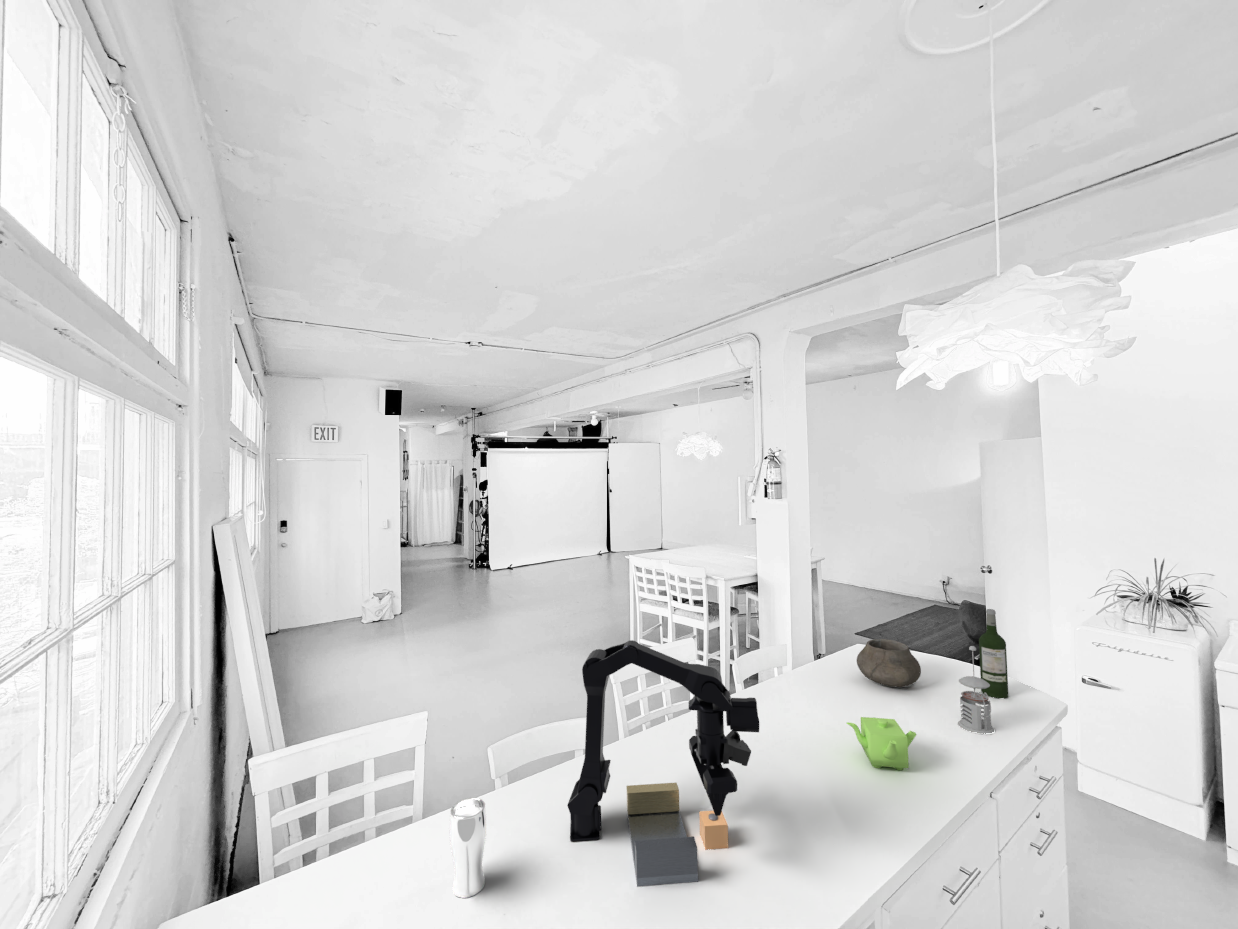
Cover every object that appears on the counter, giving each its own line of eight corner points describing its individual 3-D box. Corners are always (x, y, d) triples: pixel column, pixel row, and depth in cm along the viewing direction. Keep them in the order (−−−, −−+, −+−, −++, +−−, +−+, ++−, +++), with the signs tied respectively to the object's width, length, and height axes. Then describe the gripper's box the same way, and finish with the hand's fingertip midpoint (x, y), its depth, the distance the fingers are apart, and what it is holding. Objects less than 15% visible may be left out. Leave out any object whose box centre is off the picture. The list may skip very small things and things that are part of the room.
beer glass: (490, 871, 105) (489, 796, 105) (482, 899, 98) (481, 818, 98) (455, 873, 105) (455, 797, 105) (445, 901, 98) (444, 819, 98)
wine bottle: (986, 697, 182) (982, 611, 183) (977, 689, 190) (974, 606, 191) (1012, 700, 180) (1008, 613, 181) (1003, 691, 188) (999, 607, 189)
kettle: (896, 783, 132) (894, 738, 133) (845, 760, 144) (843, 719, 144) (924, 764, 141) (922, 722, 141) (873, 743, 152) (871, 705, 153)
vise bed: (637, 886, 100) (636, 851, 100) (627, 814, 122) (626, 785, 122) (698, 881, 101) (697, 847, 101) (677, 810, 123) (676, 782, 123)
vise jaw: (628, 814, 119) (627, 793, 119) (626, 806, 122) (626, 785, 122) (679, 811, 120) (678, 790, 120) (677, 803, 123) (676, 782, 123)
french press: (983, 720, 165) (979, 641, 166) (1006, 738, 154) (1002, 653, 155) (951, 719, 166) (947, 641, 167) (971, 737, 155) (968, 652, 156)
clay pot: (922, 679, 200) (921, 640, 200) (920, 699, 182) (918, 656, 182) (861, 669, 211) (859, 632, 212) (853, 687, 193) (851, 647, 194)
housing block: (705, 850, 110) (704, 824, 110) (699, 834, 115) (699, 810, 115) (728, 848, 110) (727, 823, 110) (721, 833, 115) (721, 808, 115)
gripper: (761, 748, 105) (763, 827, 104) (734, 708, 123) (735, 775, 123) (707, 751, 104) (708, 831, 103) (687, 711, 122) (689, 778, 122)
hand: (712, 801), depth 113 cm, fingers open, 9 cm apart
